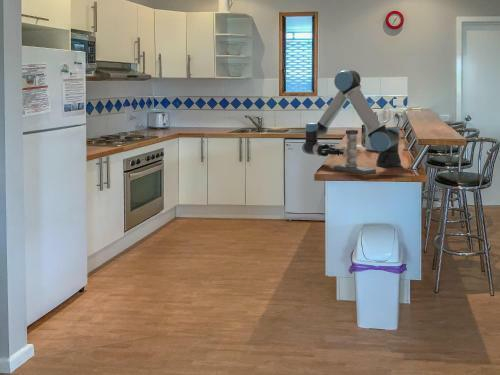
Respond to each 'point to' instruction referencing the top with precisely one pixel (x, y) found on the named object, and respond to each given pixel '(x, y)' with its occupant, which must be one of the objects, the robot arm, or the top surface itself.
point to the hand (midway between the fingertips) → (348, 153)
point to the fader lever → (351, 148)
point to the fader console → (355, 169)
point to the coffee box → (363, 135)
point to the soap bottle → (368, 142)
